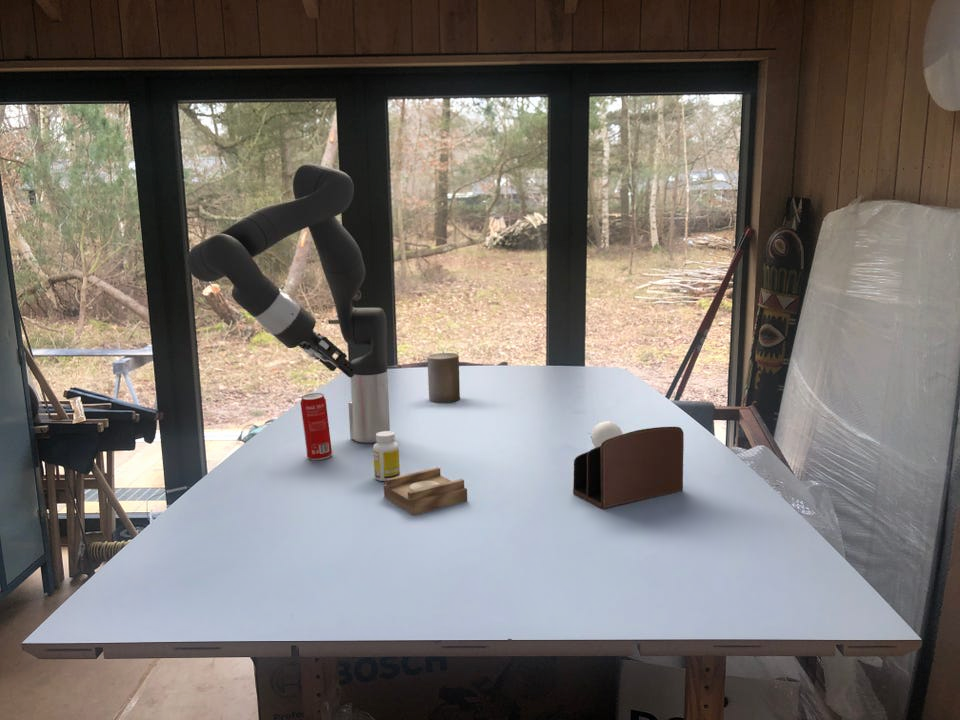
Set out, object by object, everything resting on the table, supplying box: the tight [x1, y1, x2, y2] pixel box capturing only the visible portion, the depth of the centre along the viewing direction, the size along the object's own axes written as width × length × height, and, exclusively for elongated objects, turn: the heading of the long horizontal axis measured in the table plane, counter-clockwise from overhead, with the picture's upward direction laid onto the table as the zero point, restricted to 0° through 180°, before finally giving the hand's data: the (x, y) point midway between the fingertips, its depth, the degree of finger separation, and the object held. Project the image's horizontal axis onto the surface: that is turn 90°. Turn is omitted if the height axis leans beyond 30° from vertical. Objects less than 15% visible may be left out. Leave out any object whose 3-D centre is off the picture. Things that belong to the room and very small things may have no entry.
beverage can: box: [300, 392, 333, 461], centre depth 177 cm, size 6×6×15 cm
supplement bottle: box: [372, 430, 401, 482], centre depth 162 cm, size 5×5×10 cm
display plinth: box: [383, 466, 468, 516], centre depth 149 cm, size 12×12×4 cm
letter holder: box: [572, 426, 685, 510], centre depth 150 cm, size 10×20×14 cm, turn 117°
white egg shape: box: [588, 420, 623, 448], centre depth 177 cm, size 10×7×7 cm
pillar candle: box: [426, 351, 461, 404], centre depth 232 cm, size 10×10×15 cm
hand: (344, 370), depth 150 cm, fingers open, 8 cm apart
